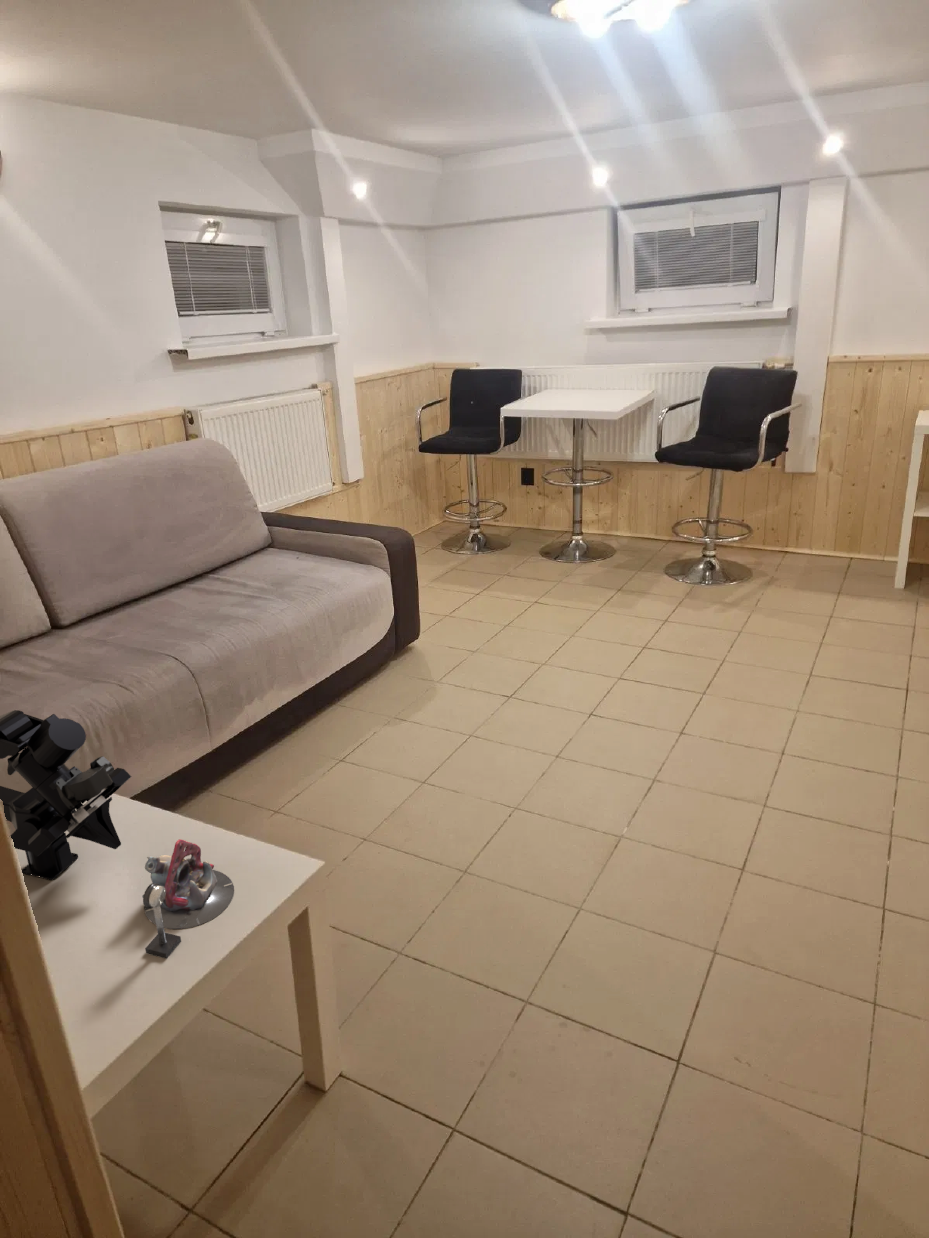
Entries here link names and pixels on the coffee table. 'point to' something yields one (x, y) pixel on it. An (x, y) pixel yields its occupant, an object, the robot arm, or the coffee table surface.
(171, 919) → the truing plate
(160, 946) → the stand
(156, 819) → the coffee table surface
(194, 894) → the brake caliper
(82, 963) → the coffee table surface
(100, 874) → the coffee table surface
